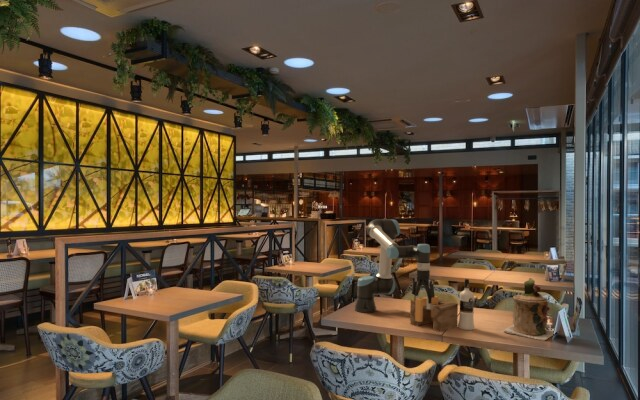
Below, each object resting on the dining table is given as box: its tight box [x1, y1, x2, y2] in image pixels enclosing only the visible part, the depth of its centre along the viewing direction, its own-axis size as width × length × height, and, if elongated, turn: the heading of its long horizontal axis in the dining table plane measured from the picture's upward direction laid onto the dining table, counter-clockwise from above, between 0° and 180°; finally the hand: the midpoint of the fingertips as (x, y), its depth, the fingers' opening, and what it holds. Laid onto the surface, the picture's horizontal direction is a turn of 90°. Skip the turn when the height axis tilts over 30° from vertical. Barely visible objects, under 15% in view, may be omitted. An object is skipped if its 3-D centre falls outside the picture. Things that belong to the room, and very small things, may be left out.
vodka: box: [457, 278, 475, 331], centre depth 280 cm, size 9×9×30 cm
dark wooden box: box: [410, 299, 459, 333], centre depth 286 cm, size 22×18×14 cm
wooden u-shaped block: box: [415, 295, 439, 322], centre depth 281 cm, size 4×19×13 cm, turn 133°
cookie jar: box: [503, 277, 555, 341], centre depth 273 cm, size 25×25×32 cm
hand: (422, 307), depth 278 cm, fingers open, 7 cm apart
